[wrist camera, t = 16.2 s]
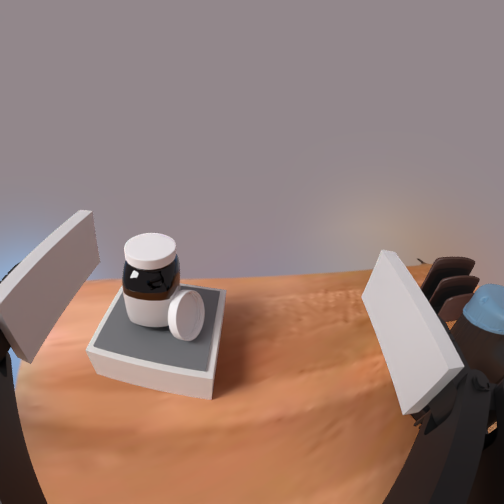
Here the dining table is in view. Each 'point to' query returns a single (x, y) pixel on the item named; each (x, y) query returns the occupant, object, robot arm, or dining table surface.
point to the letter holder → (450, 286)
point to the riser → (160, 349)
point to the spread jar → (159, 288)
